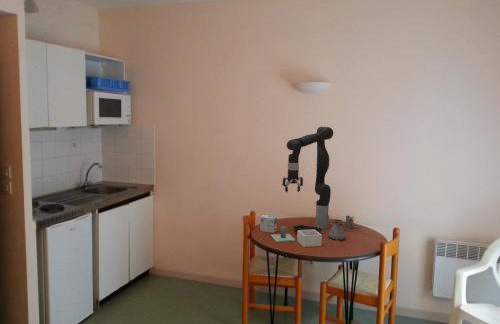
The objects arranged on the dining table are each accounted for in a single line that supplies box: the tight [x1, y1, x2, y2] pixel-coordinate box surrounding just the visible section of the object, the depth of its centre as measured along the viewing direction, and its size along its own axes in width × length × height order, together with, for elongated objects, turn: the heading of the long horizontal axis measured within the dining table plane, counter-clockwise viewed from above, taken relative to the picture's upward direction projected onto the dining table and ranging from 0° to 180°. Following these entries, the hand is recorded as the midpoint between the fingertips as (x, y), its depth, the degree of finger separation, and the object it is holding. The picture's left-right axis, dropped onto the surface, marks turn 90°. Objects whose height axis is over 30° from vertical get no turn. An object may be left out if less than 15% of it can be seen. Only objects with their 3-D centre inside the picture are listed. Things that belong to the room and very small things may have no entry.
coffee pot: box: [328, 219, 346, 242], centre depth 264 cm, size 21×12×15 cm, turn 178°
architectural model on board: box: [345, 215, 355, 230], centre depth 299 cm, size 11×3×10 cm, turn 1°
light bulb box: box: [259, 214, 278, 234], centre depth 285 cm, size 11×7×11 cm, turn 71°
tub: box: [296, 229, 323, 248], centre depth 257 cm, size 12×12×8 cm
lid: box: [270, 225, 296, 243], centre depth 265 cm, size 13×13×9 cm
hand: (292, 192), depth 276 cm, fingers open, 8 cm apart
